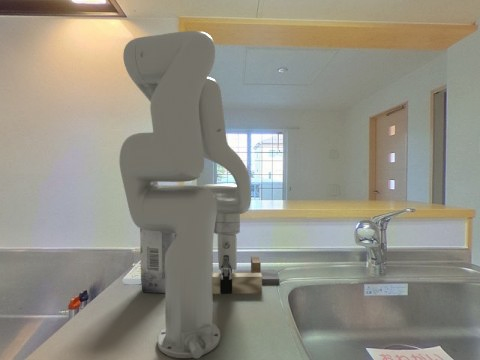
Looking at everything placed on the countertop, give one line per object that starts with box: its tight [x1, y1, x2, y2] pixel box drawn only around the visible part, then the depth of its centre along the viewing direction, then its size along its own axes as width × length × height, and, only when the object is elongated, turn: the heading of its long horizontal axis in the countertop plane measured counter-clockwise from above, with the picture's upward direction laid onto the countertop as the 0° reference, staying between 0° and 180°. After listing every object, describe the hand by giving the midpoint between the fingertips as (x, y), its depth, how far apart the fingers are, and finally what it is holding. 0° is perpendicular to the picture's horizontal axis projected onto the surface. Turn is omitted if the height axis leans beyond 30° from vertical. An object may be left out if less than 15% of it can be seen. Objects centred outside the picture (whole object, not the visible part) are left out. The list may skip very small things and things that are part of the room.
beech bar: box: [213, 272, 263, 295], centre depth 85 cm, size 20×3×5 cm, turn 91°
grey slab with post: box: [232, 254, 281, 285], centre depth 94 cm, size 8×14×6 cm, turn 91°
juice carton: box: [139, 228, 177, 294], centre depth 87 cm, size 9×10×27 cm
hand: (226, 286), depth 85 cm, fingers open, 9 cm apart
